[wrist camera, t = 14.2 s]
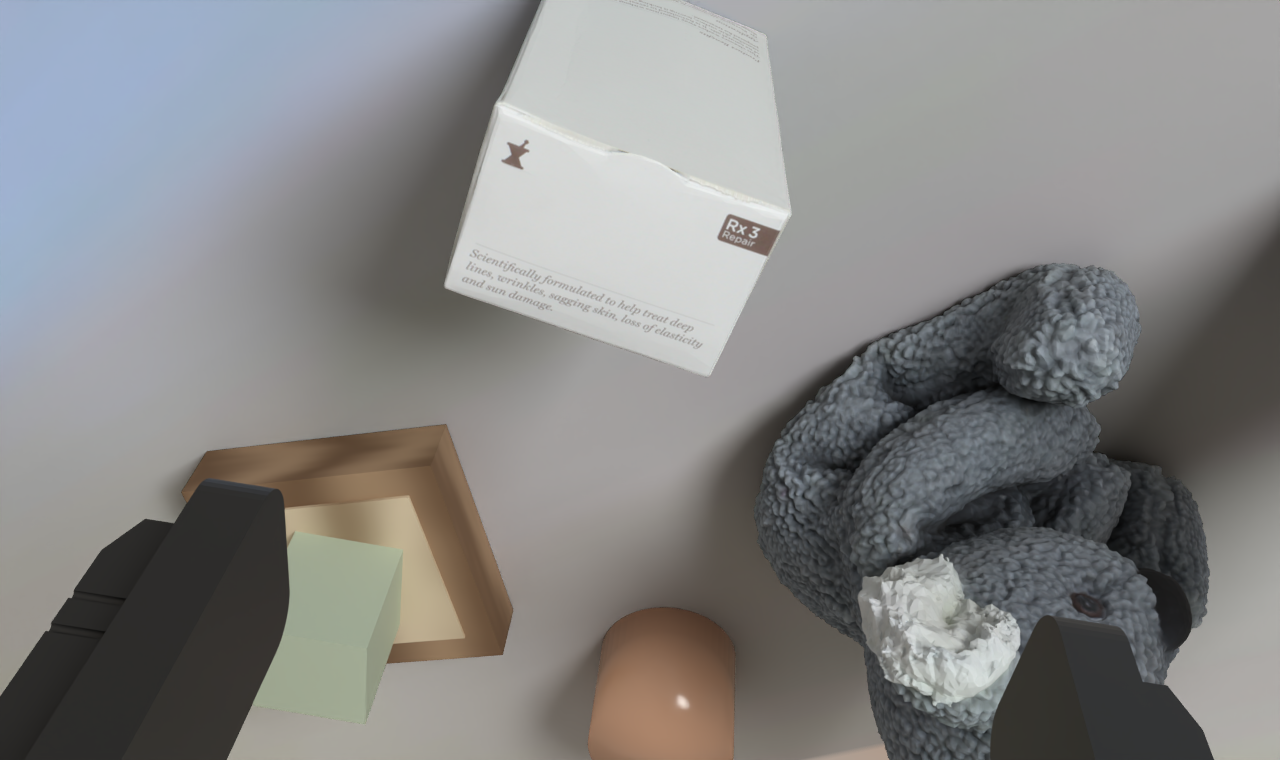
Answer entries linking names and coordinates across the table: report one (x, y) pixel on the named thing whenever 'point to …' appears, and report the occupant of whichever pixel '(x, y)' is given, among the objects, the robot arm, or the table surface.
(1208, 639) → the table surface
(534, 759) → the table surface
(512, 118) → the skincare box
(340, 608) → the sage block
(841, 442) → the koala plush
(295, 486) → the walnut base
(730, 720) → the tan rounded block
